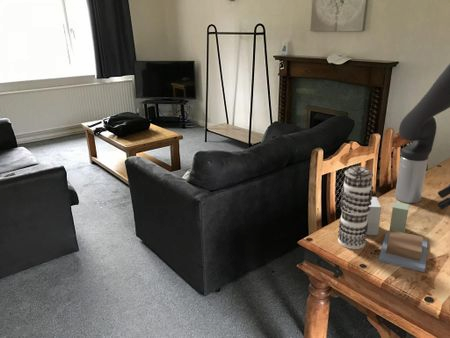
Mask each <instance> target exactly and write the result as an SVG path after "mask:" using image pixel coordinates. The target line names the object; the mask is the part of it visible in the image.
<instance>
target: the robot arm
mask: <svg viewBox="0 0 450 338" xmlns="http://www.w3.org/2000/svg"><path fill="white" fill-rule="evenodd" d="M448 109H450V63H449V64H448V65H447V67H446V68H445V69H444V70H443V71H442V73H441V74H440V75H439V76H438V77H437V78H436V79H435V81H434V83H433V84H432V85H431V87H430V88H429V89H428V91H426V93H425V94H424V96H423V97H422V98H421V99H420V101H419V102H418V103H417V104H416V105H415V106H413V108H412V109H411V110H410V111H409V112H408V113H407V114H406V115H405V116H404V117H403V119H401V121H400V124H399V128H398V134H399V136H400V138H401V139H403V141H411V143H409V144H408V145H405V146H404V147H403V148H401V152H400V160H399V166H398V173H397V181H396V186H395V191H394V197H395V199H396V200H398V201H400V202H401V203H402V202H403V203H405V204H417V203H420V202H421V200H422V196H423V195H422V194H423V189H424V183H425V177H426V172H427V165H428V161H429V156H430V154H431V152H432V150H433V145H434V143H435V138H436V134H437V121H436V118H435V116H437V115H439V114H440V113H442V112H444V111H446V110H448ZM437 195H438V196H439V197H440V198H441V199H442V200H440V201H438V202H437V207H438V208H439V209H440V210H445V209H446V208H448V207H449V206H450V183H449V184H448V186H445V187H444V188H443V189H442V188H441V190H439V191H437ZM447 196H448V197H447ZM445 197H446V198H445Z"/></svg>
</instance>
